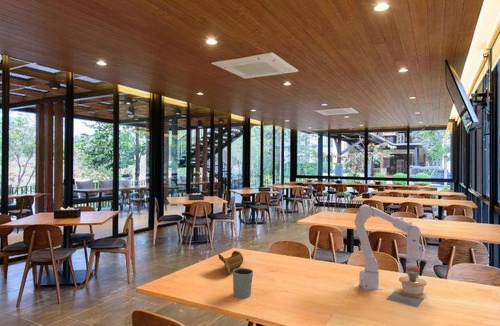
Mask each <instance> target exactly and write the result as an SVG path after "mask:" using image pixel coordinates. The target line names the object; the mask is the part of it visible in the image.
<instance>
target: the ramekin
mask: <svg viewBox="0 0 500 326" xmlns="http://www.w3.org/2000/svg"><path fill="white" fill-rule="evenodd" d="M400 284H401V288H402V291H403V292H405V293H406V294H407V293H408V294H410V295H422V294H423V293H424V290H425V286H411V285H407V284H404V283H402V282H400Z"/></svg>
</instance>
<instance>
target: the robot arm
mask: <svg viewBox="0 0 500 326" xmlns="http://www.w3.org/2000/svg"><path fill="white" fill-rule="evenodd" d="M371 217H372V218H375V217H378V218H380V219H383V220H384V221H387V222H389V223H391V224H392V226H393V228H395V229H398V230H400V231H401V232H403V233H407V234H406V253H405V254H404V253H397V258H398V260H399V263H400V264H401V268H402V270H403V271H402V272H403V273H404V274H405V273H407V272H406V267H407V261H408V260H411V261H413V260H414V262H419V263H418V264H419V268H420V274H419V277H422V276H423V271H424V269H425V267H426V265H427V264H428V263H430V262H429V260H430V259H429V258H427V257H423V256H420V235H421V232H422V231H421V229H420V228H419V227H418V226H417V225H415V224H414V223H413V222H411V221H410V222H409V221H408V220H406V219H404V217H403V216H401V217H399V216H396V217H394V216H391V215H390V214H388V213H386V212H384V211H383V210H380V209H379V208H376V207H374V206H371V205H369V204H365V203H364V204H362V205H360V206H359V208H358V209H357V212H356V215H355V218H354V222H353V223H354V225H355V229H356V232H357V236H358V239H359V242H360V245H361V248H362V251H363V255H364V258H365V259H364V264H365V267H364V270H360V271H359V274H358V275H359V278H358V279H359V283H358V285H359V286H360V287H361V288H363V290H366V291H367V290H369V291H370V290H372V291H373V290H383V288H382V287H381V286H379V285H380V283H379V281H380V279H379V278H380V277H379V276H380V274H379V273H380V271H379V268H380V265H379V263H378V261H377V259H376V257H375V256H374V253H373V249H372V247H371V242H370V240H369V237H368V234H367V229H366V227H365V223H366V221H367V220H368V219H370V218H371Z"/></svg>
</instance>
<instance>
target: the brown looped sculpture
mask: <svg viewBox="0 0 500 326" xmlns="http://www.w3.org/2000/svg"><path fill="white" fill-rule="evenodd" d="M217 256H218V259H219V261H221V262H223V264H224V267H225V270H226V273H227V275H228V276H229V275H231V271H232V270H234V269H236V268H237V267H241V265H243V263H244V257H243V255H242V253H241V252H240V251H238V250H234V251H232V253H231V256H228V257H227V258H224V256H223V255H222V254H221V253H218V254H217Z"/></svg>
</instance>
